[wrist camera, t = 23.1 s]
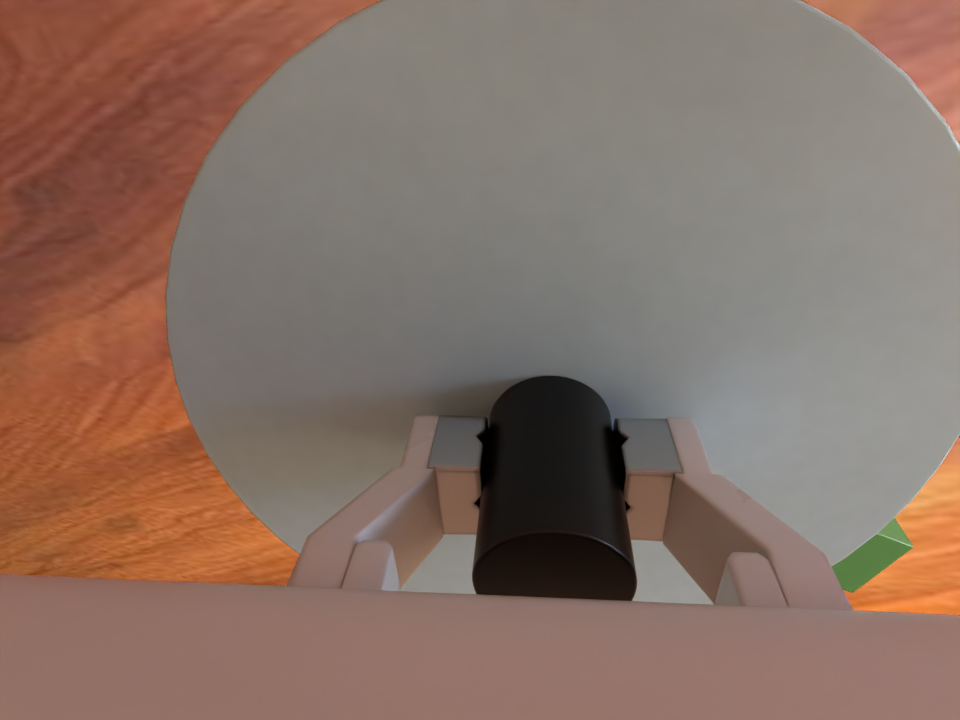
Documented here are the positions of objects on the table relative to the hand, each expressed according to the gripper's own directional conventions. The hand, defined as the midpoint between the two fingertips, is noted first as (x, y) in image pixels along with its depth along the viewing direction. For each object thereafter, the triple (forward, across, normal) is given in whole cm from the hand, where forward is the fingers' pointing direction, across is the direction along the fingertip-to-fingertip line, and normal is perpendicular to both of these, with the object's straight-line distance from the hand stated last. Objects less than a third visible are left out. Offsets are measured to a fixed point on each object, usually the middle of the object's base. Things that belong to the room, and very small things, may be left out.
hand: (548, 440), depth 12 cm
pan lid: (+1, 0, 0) cm, 1 cm away
